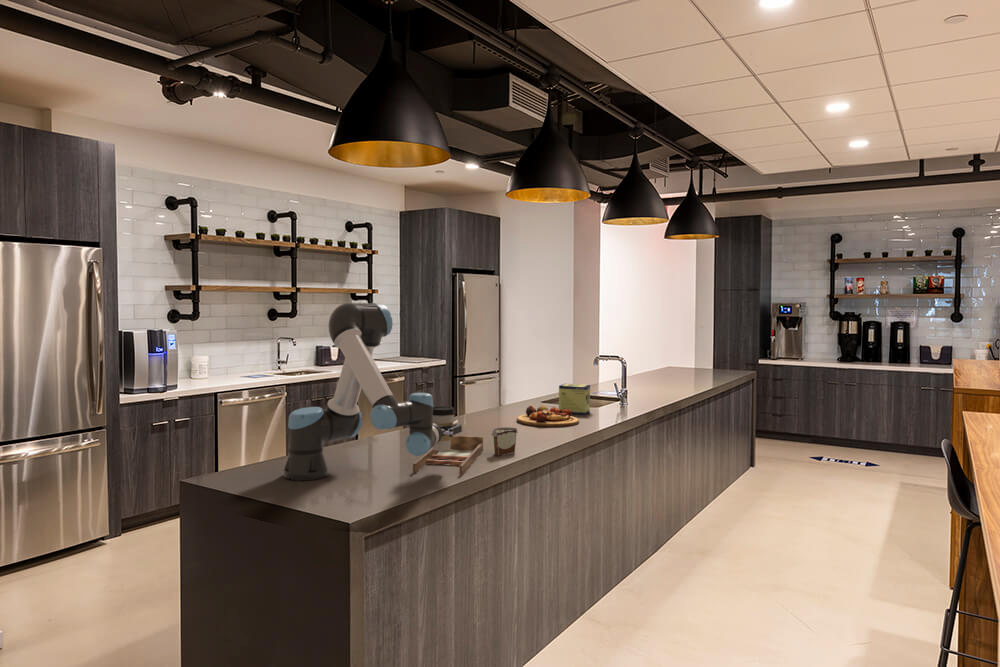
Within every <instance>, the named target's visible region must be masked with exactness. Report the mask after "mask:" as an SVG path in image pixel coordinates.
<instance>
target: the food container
mask: <svg viewBox="0 0 1000 667" xmlns="http://www.w3.org/2000/svg"><path fill="white" fill-rule="evenodd" d="M517 434H518V428H517V427H506V426H505V427H504V426H503V427H496V428H493V430H492V433H491V436H492V437H493V448H494V455H495V454H496V455H498V456H497V457H500V456H499V455H502V456H505V455H504V454H507V455H510V454H509V453H511V454H515V453H516V443H517ZM514 452H515V453H514ZM496 455H495V456H496Z"/></svg>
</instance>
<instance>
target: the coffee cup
mask: <svg viewBox="0 0 1000 667" xmlns="http://www.w3.org/2000/svg"><path fill="white" fill-rule="evenodd" d="M455 415H456V410H455V408H454V407H453V406H447V405H446V406H445V405H443V406H442V405H438V406H437V405H436V406H433V423H435V424H437V425H438V426H449V425H452V423H454V422H455V421H454V420H455ZM451 439H452V437H450V436H448V434H445V436H442V438H441V440H440V441H439V442H438V443H437V444H436V445H434V446H433V447H432V448H433V450H436V451H446V450H450V446H451Z"/></svg>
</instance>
